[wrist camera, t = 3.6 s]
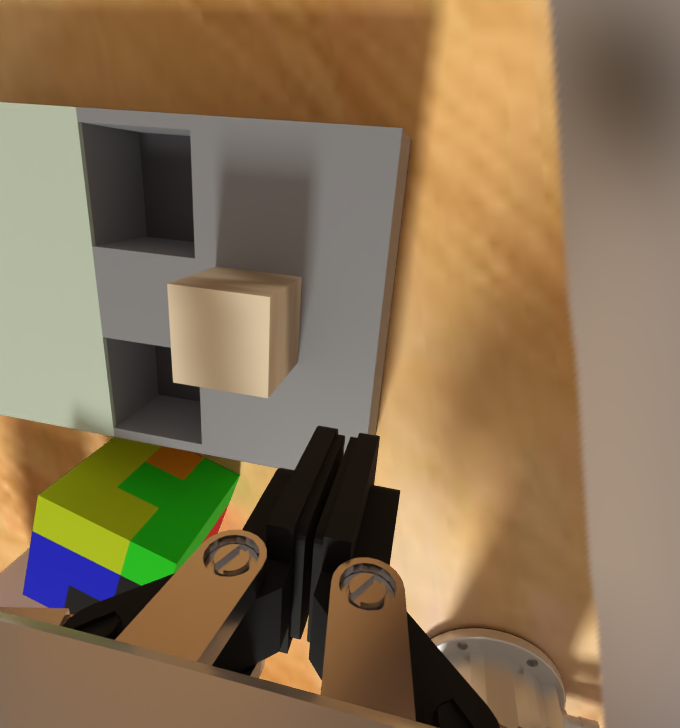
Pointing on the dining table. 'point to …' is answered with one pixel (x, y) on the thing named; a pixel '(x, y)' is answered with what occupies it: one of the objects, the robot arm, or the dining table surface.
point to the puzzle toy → (122, 522)
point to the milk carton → (16, 585)
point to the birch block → (234, 329)
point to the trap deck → (192, 269)
